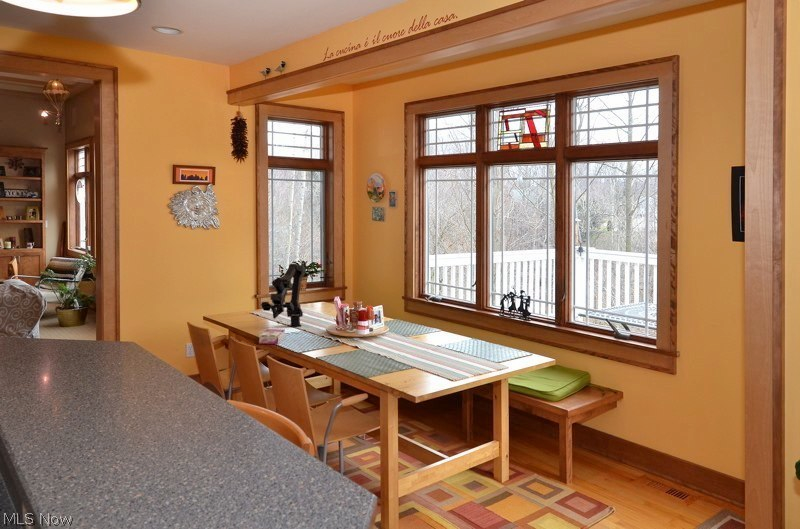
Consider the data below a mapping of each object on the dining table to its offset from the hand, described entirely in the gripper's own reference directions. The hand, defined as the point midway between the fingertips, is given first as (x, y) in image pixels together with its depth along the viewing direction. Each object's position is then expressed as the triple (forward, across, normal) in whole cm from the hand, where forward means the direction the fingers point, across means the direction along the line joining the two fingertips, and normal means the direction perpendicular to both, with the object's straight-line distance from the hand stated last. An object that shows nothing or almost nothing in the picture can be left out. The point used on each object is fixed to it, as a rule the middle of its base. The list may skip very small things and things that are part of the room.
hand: (274, 318), depth 373 cm
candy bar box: (+5, 0, +8) cm, 10 cm away
